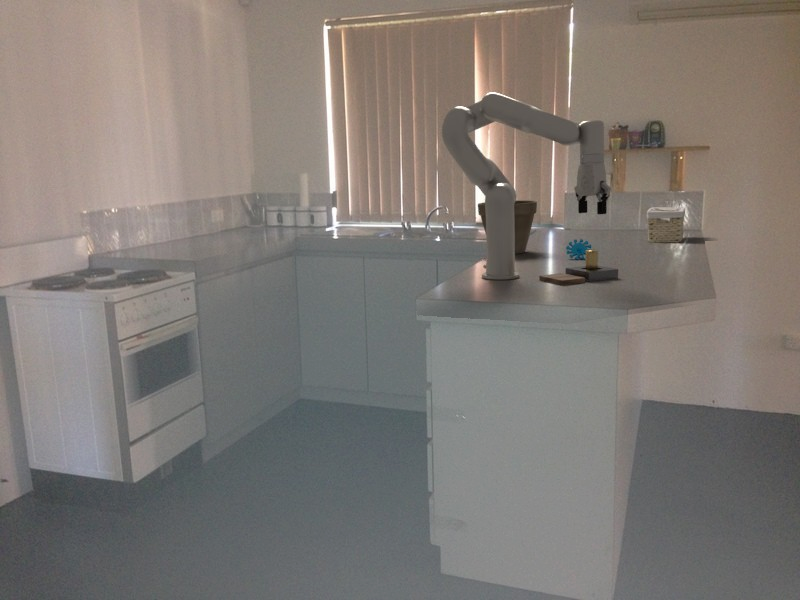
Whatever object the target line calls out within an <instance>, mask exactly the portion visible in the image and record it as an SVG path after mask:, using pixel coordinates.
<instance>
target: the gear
mask: <svg viewBox="0 0 800 600" xmlns="http://www.w3.org/2000/svg"><path fill="white" fill-rule="evenodd" d="M573 243H574V244H573ZM565 249H566V255H569V259H572V258H574V260H575V261H578V260H579V259H580V260H581V261H582V260H585V256H586V250H596V249H595V248H592V244H589V241H588V240H585V241H584V239H582V238H580V239H579V242H578V239H573V242H572V241H570V242H568V245H567V246H566V247H565ZM584 255H585V256H584Z"/></svg>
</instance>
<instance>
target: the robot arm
mask: <svg viewBox="0 0 800 600" xmlns="http://www.w3.org/2000/svg"><path fill="white" fill-rule="evenodd" d="M495 122H496V123H499V124H502V125H505V126H508V127H510V128H513V129H516V130H518V131H521V132H523V133H527V134H533V135H536V136H540V137H542V138H545V139H547V140H550V141H553V142H555V143H557V144H560V145H561V146H572V145H578V144H579V165H578V169H577V175H576V176H577V177H576V186H575V187H574V193H575V196H576V198H577V201H576V202H578V203H577V205H578V206H577V207H578V211H577V212H578V214H587V213H588V200H587V198H588V197H596V199H597V201H596V207H597V209H596V211H597V213H596V214H597V215H606V214H607V208H608V207H607V202H608V201H609V198H610V194H611V191H612V188H611V186H609V184H608V183H607V173H606V171H607V170H606V165H605V123H604V121H602V120H601V119H600V120H599V119H598V120H597V119H596V120H585V121H582V122H574V121H572V120H569V119H567V118H563V117H562V116H559V115H555V114H552V113H550V112H547V111H545V110H542V109H540V108H538V107H536V106H533V105H531V104H529V103H526V102H523V101H520V100H517V99H515V98H512V97H509V96H506V95H503V94H501V93H497V92H488V93H487V94H485V95H484V96H483V97H482V99H481V100H479V101H477V102H474V103H473V104H470V105H467V106H465V107H464V106H455V107H453V108H451V109H450V110H449V111H447V113H446V114H445V116H444V119H443V121H442V126H441V135H442V141H443V144H444V146H445V148H446V150H447V151H448V153H449V154H450V155H451V157H452V158H453V159H454V161H455V162H456V164H457V166H459V168H460V169H461V171H462V172H463V173H464V175H465V176H466V178H467V179H468V180H469V182H470V183H471V184H473V185H474V186H477V188H478V189H479V190H480V191H481V193H482V194H483V195H484V197H485V199H484V203H485V212H486V233H485V236H486V237H485V238H486V239H485V240H486V241H485V242H486V244H485V245H486V249H485V250H486V262H485V264H483V266H482V267H483V268H484V269H485V272H483V273H481V277H482V278H483V279H485V280H486V279H487V280H493V281H494V280H495V281H497V280H498V281H499V280H500V281H502V280H504V281H505V280H513V279H515V280H516V279H519V277H520V273H519V272H516V269H515V265H516V264H515V262H516V261H515V260H516V259H515V256H516V254H515V224H514V203H515V201H517V192H516V189H515V188H514V186H513V184H511V182H510V181H509V180H508V177H506V176H505V174H503V172H502V171H501V169H500V168H499V167H498V165H497V164H496V163H495V162H494V161H493V160H491V159H490V158H487V157H486V156H485V155H484V154H483V152H482V151H481V150H480V149H479V147H478V145H476V143H475V142H474V141H473V140H472V139H471V137H470V135H469V133H472V132H474V131H476V130H479V129H481V128H483V127H485V126H488V125H490V124H493V123H495Z"/></svg>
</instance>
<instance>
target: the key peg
mask: <svg viewBox="0 0 800 600" xmlns="http://www.w3.org/2000/svg"><path fill="white" fill-rule="evenodd" d="M584 262H585V265H584V266H585V269H586V270H597V269H598V266H599V250H597V249H595V250H586V255H585V261H584Z"/></svg>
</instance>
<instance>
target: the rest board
mask: <svg viewBox="0 0 800 600" xmlns="http://www.w3.org/2000/svg"><path fill="white" fill-rule="evenodd" d="M538 279H539V281H541V282H545V281H546V283H550V284H555V285H559V286H567V285H575V284H576V285H577V284H584V283H586V281H585V278H583V277H578V276H573V275H568V274H566V273H562V272H561V273H552V274H544V275H542V274H541V275H539V278H538Z"/></svg>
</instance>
